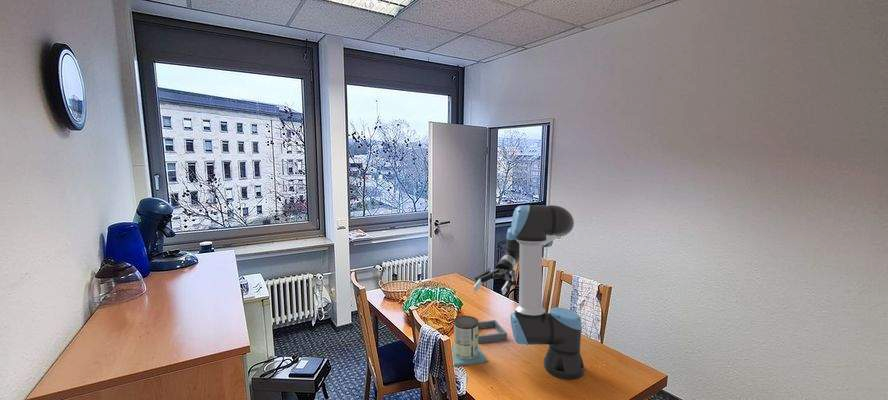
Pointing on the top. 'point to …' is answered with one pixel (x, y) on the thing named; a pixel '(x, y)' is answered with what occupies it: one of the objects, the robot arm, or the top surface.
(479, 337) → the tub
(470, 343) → the coffee can
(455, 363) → the board
